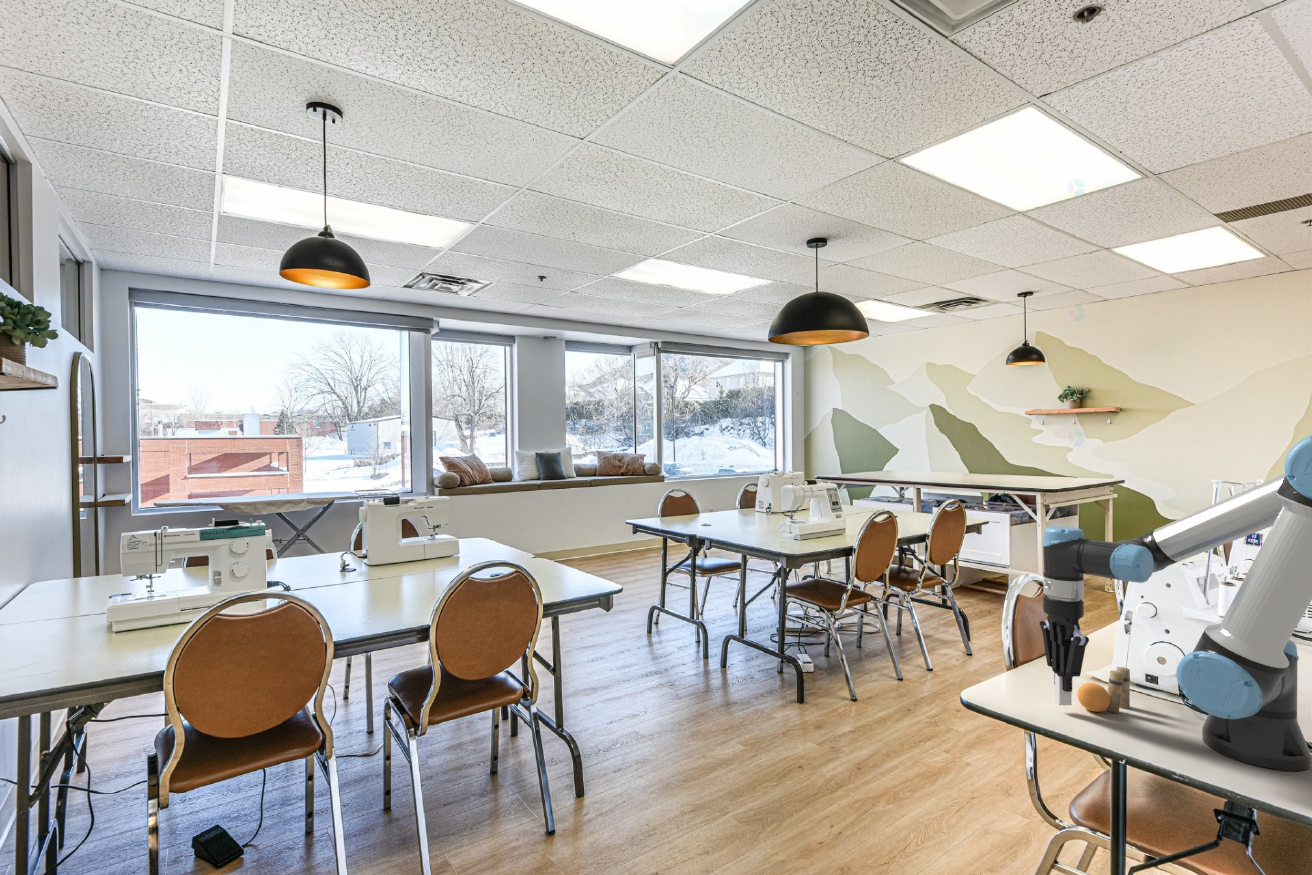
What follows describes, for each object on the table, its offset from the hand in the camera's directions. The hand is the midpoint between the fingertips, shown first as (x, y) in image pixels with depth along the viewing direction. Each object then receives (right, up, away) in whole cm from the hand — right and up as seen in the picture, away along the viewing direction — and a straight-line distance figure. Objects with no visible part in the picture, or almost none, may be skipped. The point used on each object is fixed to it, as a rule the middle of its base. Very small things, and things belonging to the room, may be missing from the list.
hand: (1063, 703), depth 138 cm
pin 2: (+16, -2, +3) cm, 16 cm away
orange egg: (+7, +1, +1) cm, 7 cm away
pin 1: (+11, -2, 0) cm, 11 cm away
